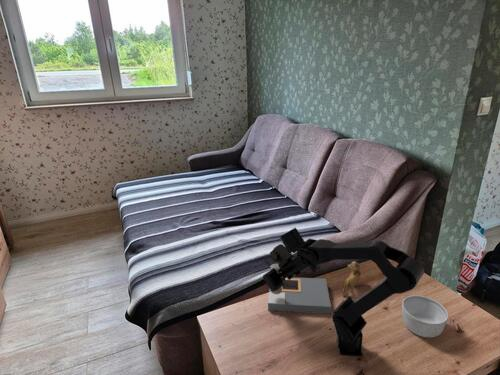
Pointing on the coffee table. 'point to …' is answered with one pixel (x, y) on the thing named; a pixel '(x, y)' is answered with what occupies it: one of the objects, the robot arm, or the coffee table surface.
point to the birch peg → (278, 272)
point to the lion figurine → (352, 277)
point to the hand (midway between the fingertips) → (273, 278)
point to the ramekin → (424, 316)
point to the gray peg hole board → (302, 296)
